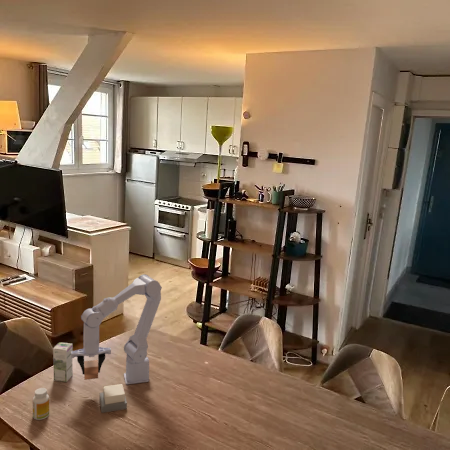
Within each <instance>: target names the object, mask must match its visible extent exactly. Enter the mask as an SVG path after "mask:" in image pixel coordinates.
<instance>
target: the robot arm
mask: <svg viewBox="0 0 450 450" xmlns="http://www.w3.org/2000/svg"><path fill="white" fill-rule="evenodd" d="M161 291H162V285H161V283H160V282H159V281H158V280H156V279H154V278H153V277H150V275H148V274H141V275H139V276H138V277H137V278H134V280H133V281H132V283H130V284H129V285H127V286H126V287H125V288H124V289H122V290H121V291H119V293H118V294H116V295H115V296H113V297H109V296H108V297H104V298H103V299H102V301H100V302H99V303H98V304H96V305H94V306H92V308H91V307H90V308H87V309H85V310H84V311H83V313H82V314H81V315H80V319H81V321H82V322H83V348H80V349H76V350H73V351H71V358H72V359H74V358H77V359H76V360H77V363H78V364H79V366H80V369H81V372H82V375H84V361H85V357H88V358H95V356H97V357H98V358H97V360H98V374H99V373H101V367H102V365H103V364H104V361H105V360H106V355H112V348H111V347H104V346H100V325H101V324H102V321H103V320H104V319H105V318H106V317H108V316H109V315H110V314H113V313H114V312H115V311H117V310H118V307H119V305H120V304H122V303H124V302H126V301H127V300H129V299H130V298H132V297H134V296H135V295H139V296H145V298H146V301H145V304H144V307H143V309H142V312H141V314H140V318H139V319H138V322H137V326H136V328H135V331H134V334H132V335H131V336H129V337H128V340H127V341H126V342H125V344H124V347H123V351H124V353H125V355H126V357H125V372H124V373H123V376H124V382H125V384H126V385H132V384H140V383H141V384H142V383H147V382H148V383H149V382H150V359H149V357H148V356H147V355H148V348H149V345H148V341H147V338H148V336H149V333H150V330H151V328H152V325H153V323H154V320H155V317H156V314H157V312H158V309H159V306H160V303H161V300H162V293H161Z"/></svg>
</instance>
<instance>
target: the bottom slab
mask: <svg viewBox="0 0 450 450" xmlns="http://www.w3.org/2000/svg"><path fill="white" fill-rule="evenodd" d="M99 402H100V403H99V405H100V410H101V411H100V412H101V413H102V414H103V413H109V412H110V413H111V412H115V411H116V412H117V411H122V410H128V409H127V408H128V407H127V405H128V402H127V397H126V396H125V401H124V402H117V403H111V404H105V400H104V394H103V392H99Z"/></svg>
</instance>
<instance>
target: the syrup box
mask: <svg viewBox="0 0 450 450" xmlns="http://www.w3.org/2000/svg"><path fill="white" fill-rule="evenodd" d="M73 349H74V347H73V343H68V342H58V343H57V344H56V345H54V347H53V349H52V350H53V351H52V353H53V355H52V356H53V357H52V359H53V360H52V361H53V365H52V366H53V381H54V382H55V381H57V382H64V383H68V381H69V380H70V379H71V378H72V377H73V375H74V373H73V372H74V371H73V370H74V369H73V358H71V351H74V350H73Z"/></svg>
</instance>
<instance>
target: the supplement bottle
mask: <svg viewBox="0 0 450 450" xmlns="http://www.w3.org/2000/svg"><path fill="white" fill-rule="evenodd" d="M49 416H50V396H49V394H48V389H47V388H46V387H39V388H37V389H35V390H34V396H33V397H32V418H33V419H34V420H36V421H40V420H45V419H46V418H48V417H49Z"/></svg>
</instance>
